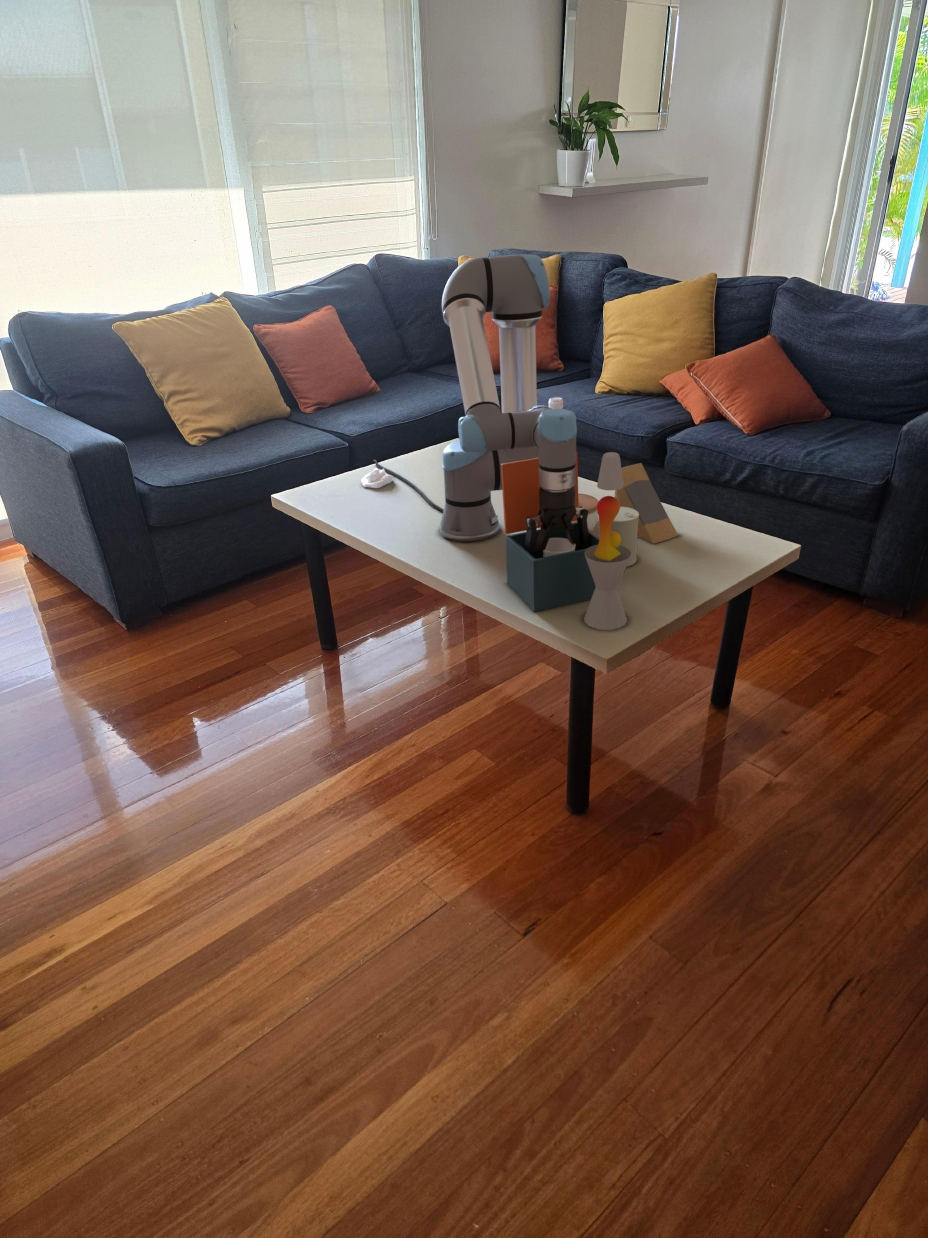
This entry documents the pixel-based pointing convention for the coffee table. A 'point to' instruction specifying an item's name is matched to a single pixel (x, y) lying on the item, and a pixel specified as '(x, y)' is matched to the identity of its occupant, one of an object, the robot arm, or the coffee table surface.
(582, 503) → the lidded bowl
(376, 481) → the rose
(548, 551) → the white cup
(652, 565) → the coffee table surface
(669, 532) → the sandwich container
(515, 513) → the lid
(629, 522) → the can
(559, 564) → the container
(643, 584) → the coffee table surface
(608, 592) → the lava lamp
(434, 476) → the coffee table surface
